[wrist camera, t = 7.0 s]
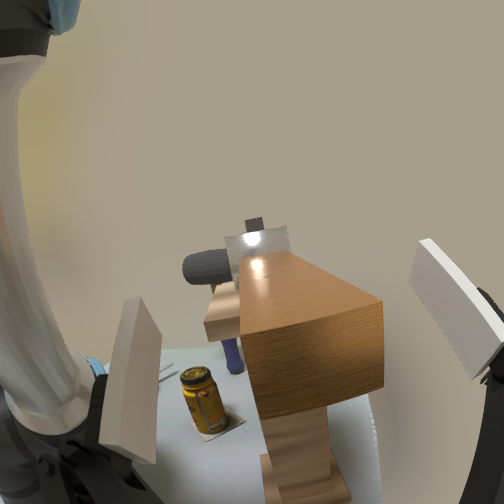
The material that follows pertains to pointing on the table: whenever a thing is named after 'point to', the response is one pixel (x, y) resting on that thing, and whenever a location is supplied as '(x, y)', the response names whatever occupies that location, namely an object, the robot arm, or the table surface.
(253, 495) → the table surface
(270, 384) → the wooden handle
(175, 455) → the table surface
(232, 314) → the walnut stand
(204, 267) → the rubber mallet
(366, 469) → the table surface
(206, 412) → the condiment
